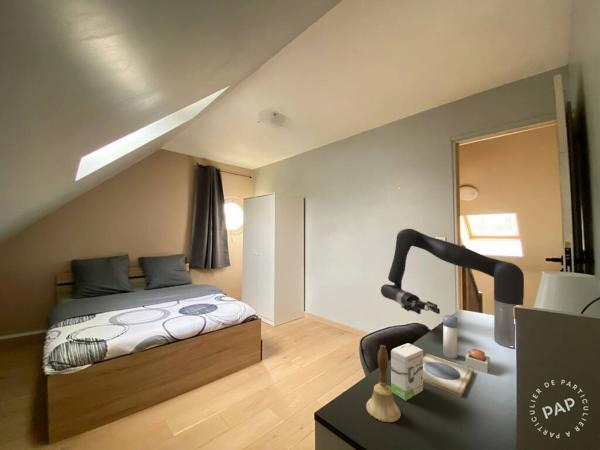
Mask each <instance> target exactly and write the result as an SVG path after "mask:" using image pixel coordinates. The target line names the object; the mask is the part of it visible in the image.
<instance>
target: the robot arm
mask: <svg viewBox="0 0 600 450" xmlns="http://www.w3.org/2000/svg"><path fill="white" fill-rule="evenodd" d="M411 247H414V248H418V249H422V250H423V251H424V250H425V251H426V252H428V253H430V254H431V255H433V256H434V257H436V258H437V259H439V260H441V261H444V262H446V263H448V264H451V265H453V266H458V267H461V268H463V269H464V268H465V269H470V270H474V271H477V272H481V273H483V274H485V275H487V276H489V277H492V278H493V301H494V302H493V312H494V313H493V318H494V319H493V324H494V325H493V326H494V327H493V331H494V333H493V335H494V336H493V340H494V341H493V342H496V343H497V344H499V345H501V346H503V347H505V348H506V347H507V348H510V347H509V346H513V348H512V349H516V348H515V324H514V316H513V307H514V306H516V305H521V306H523V307H524V298H525V297H524V296H525V276H524V273H523V270H522V269H521V268H520V266H519V265H516V264H515V263H513V262H509V261H504V260H500V259H496V258H492V257H489V256H487V255H483V254H481V253H479V252H476V251H474V250H471V249H469V248H467V247H464V246H463V245H459V244H456V243H453V242H450V241H446V240H442V239H440V238H435V237H433V236H432V237H431V236H429V235H426V234H424V233H422V232H420V231H418V230H416V229H413V228H405V229H401V230H400V231H399V232H398V233H397V235H396V241H395V249H394V255H393V259H392V263H391V267H390V269H389V272H388V277H387V279H388V281H389V282H390V283H393V284H389V283H387V284H383V285H381V288H380V293H381V296H382V297H384V298H386V299H388V300H392V301H394V302H396V303H398V304H399V305H400V307H401V308H402V309H404V310H405V311H407V312H410V311H411V312H414V313H416V314H418V315H421V314H422V311H426V312H429V311H431V312H434V313H435V314H437V315H440V313H441V309H440V308H438V304H436V303H434V302H431V301H423V300H421V299H420V298H419V296H417V295H416V294H413V293H412V292H409V291H408V290H407V291H406V290H404V289H402V283H403V282H402V280H403V278H404V276H405V275H404V274H405V271H406V264H407V258H408V254H409V252H410V250H411Z"/></svg>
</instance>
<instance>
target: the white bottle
mask: <svg viewBox="0 0 600 450" xmlns="http://www.w3.org/2000/svg"><path fill="white" fill-rule="evenodd" d="M458 323H459V322H458V317H457V316H453V315H451V314H450V315H449V314H444V315H443V316H442V325H443V328H442V331H443V333H442V334H443V335H442V337H443V338H442V343H443V345H442V351H443V353H442V354H443V356H445V357H446V358H449V359H457V358H458Z"/></svg>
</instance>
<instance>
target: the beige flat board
mask: <svg viewBox="0 0 600 450" xmlns="http://www.w3.org/2000/svg"><path fill="white" fill-rule="evenodd" d="M473 374H474V368H471V367H468V366H465V365H461V364H459V363H455V362H453V361H449V360H447V359H444V358H442V357H438V356H436V355H432V354H429V353H426V354H425V355H423V383H427V384H428V385H431V386H434V387H435V388H438V389H441V390H443V391H445V392H448V393H451V394H452V395H455V396H457V397H460V398H462V396H463V395H464V392H465V390H466V389H467V386H468V384H469V383H470V381H471V378H472V376H473Z"/></svg>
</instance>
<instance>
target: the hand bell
mask: <svg viewBox="0 0 600 450" xmlns="http://www.w3.org/2000/svg"><path fill="white" fill-rule="evenodd" d="M379 347H380V348H379V350H378V353H377V363H378V367H379V368H378V369H379V382H378V383H376V384H375V385H373V392H372V396H371V397H370V398H369V399H368V400H367V402H366V404H365V408H366V411H367V412H368V413H369V415H370V416H371V417H372V416H373V418H374V419H375V420H377V419H378V421H379V422H383V423H384V422H385V423H394V422H396V421H399V419H400V418H401V416H402V415H401V413H402V412H401V409H400V407H399V406H398V405H397V403H396V402H395V399H394V396H393V394H394V393H393V392H392V389H391V386H390V385H387V370H388V367H389V353H388V350H387V346H386V345H384V344H381V345H380V346H379Z"/></svg>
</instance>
